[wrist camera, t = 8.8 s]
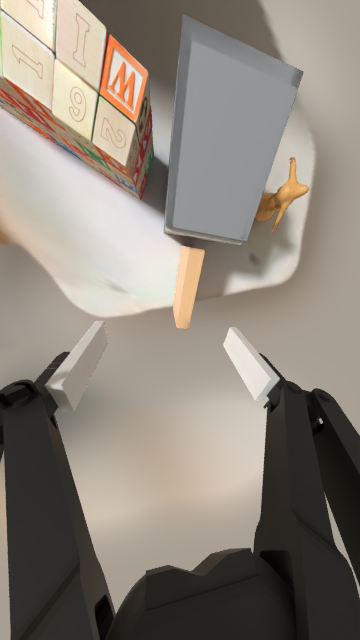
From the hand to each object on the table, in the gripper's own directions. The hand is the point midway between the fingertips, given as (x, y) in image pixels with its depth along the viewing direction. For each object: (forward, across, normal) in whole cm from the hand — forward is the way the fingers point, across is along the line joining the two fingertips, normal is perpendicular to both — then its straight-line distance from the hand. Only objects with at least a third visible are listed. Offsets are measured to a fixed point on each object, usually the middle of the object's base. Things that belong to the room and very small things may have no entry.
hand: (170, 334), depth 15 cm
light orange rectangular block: (+19, +4, +1) cm, 20 cm away
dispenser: (+20, +4, +16) cm, 26 cm away
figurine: (+20, +16, +16) cm, 30 cm away
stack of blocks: (+20, -14, +20) cm, 32 cm away
